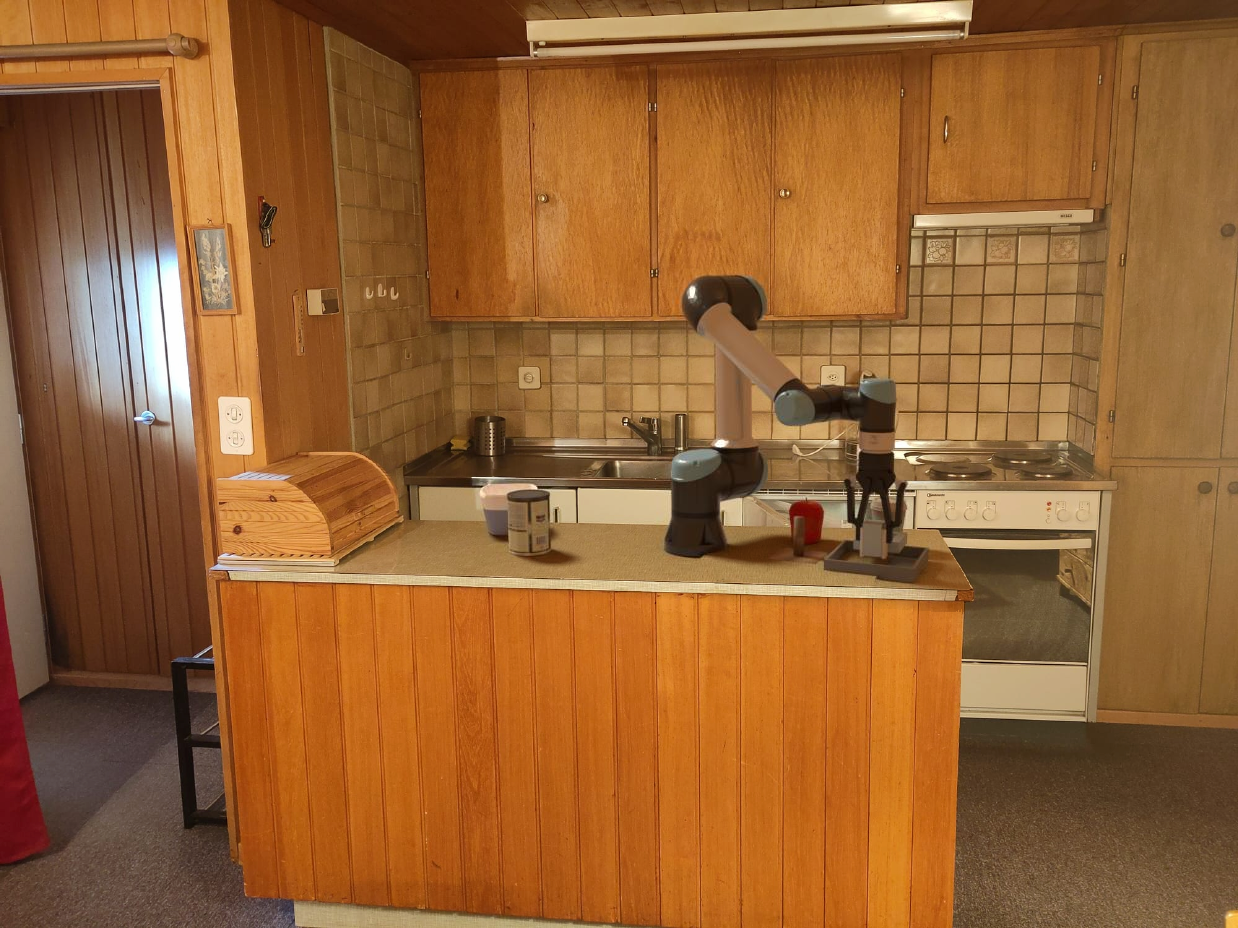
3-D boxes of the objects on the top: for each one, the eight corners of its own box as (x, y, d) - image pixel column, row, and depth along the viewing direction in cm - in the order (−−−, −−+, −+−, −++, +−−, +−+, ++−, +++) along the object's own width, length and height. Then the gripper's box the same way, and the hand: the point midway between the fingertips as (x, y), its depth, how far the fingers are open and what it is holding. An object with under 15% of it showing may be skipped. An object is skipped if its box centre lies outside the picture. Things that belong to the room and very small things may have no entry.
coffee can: (521, 543, 256) (520, 487, 254) (558, 547, 252) (557, 490, 250) (500, 553, 247) (498, 495, 245) (538, 558, 243) (536, 499, 240)
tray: (823, 573, 228) (823, 559, 227) (843, 552, 245) (844, 539, 245) (914, 582, 220) (914, 568, 219) (928, 560, 237) (929, 547, 237)
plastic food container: (481, 525, 277) (479, 484, 275) (539, 523, 278) (538, 482, 277) (479, 539, 262) (478, 495, 260) (541, 536, 263) (540, 493, 262)
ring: (848, 554, 227) (848, 522, 226) (862, 539, 240) (863, 509, 239) (894, 558, 223) (895, 526, 222) (907, 542, 236) (908, 512, 235)
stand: (768, 561, 237) (769, 520, 236) (782, 550, 247) (782, 510, 246) (815, 567, 233) (816, 524, 231) (827, 555, 243) (828, 514, 241)
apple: (821, 549, 248) (822, 501, 246) (786, 547, 251) (787, 499, 249) (825, 541, 256) (826, 494, 254) (791, 539, 259) (791, 492, 257)
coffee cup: (907, 554, 243) (908, 504, 241) (869, 552, 245) (871, 502, 243) (904, 545, 251) (906, 496, 249) (868, 543, 253) (869, 495, 251)
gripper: (832, 451, 224) (830, 556, 228) (914, 455, 217) (910, 564, 220) (841, 446, 230) (838, 548, 234) (920, 450, 223) (916, 556, 227)
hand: (873, 556), depth 227 cm, fingers closed on ring, 4 cm apart
